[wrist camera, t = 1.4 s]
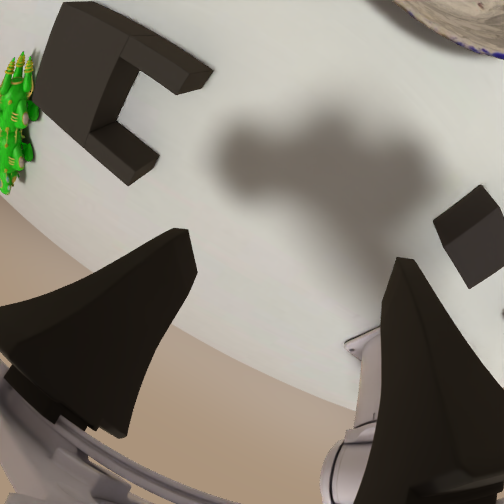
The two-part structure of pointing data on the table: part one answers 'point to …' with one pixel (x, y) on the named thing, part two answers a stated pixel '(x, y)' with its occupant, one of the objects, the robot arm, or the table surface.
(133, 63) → the dark brown c-shaped block
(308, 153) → the table surface
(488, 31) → the bowl
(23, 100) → the green sculpted piece
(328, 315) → the table surface
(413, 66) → the table surface
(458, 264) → the dark brown block
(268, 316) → the table surface
